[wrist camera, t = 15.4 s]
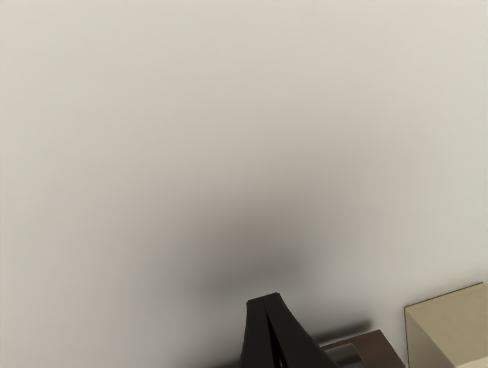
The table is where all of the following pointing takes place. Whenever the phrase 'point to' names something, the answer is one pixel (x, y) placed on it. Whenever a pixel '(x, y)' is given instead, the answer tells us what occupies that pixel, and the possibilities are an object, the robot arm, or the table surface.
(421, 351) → the beige rectangular block
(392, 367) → the drawer
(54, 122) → the table surface
